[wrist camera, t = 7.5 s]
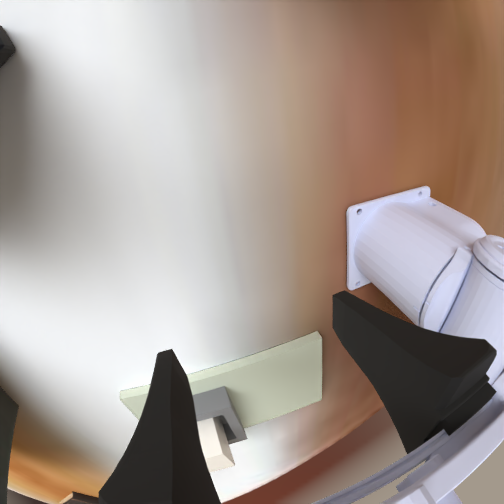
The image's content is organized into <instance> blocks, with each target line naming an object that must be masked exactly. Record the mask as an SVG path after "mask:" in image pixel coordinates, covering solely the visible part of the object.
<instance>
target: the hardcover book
mask: <svg viewBox="0 0 504 504" xmlns="http://www.w3.org/2000/svg"><path fill="white" fill-rule="evenodd" d="M59 503H60V504H99V498H97V497H93V496H89V495H84V494H81V493H77V492H73V491H72V493H71V494H70V495H69V496H67V497H66V498H64V499H63V500H61V501H60V502H59Z"/></svg>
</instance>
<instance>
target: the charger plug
mask: <svg viewBox="0 0 504 504" xmlns="http://www.w3.org/2000/svg"><path fill="white" fill-rule="evenodd" d="M197 425H198V431H199V437H200V442H201V447H202V451H203V454H204V457H205V461H206V464H207V467H208V470H209V473H210V472H213V471H217V470H221V469H225V468H228V467H232V466H235V463H234V460H233V457H232V454H231V450H230V447H229V444H228V441H227V437H226V434H225V431H224V427H223V424H222V421H221V418H220V417H219V416H217V417H213V418H209V419H206V420H202V421H198V422H197Z"/></svg>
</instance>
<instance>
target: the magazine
mask: <svg viewBox="0 0 504 504" xmlns="http://www.w3.org/2000/svg"><path fill="white" fill-rule="evenodd" d="M14 52H15V47H14V45H13V44H12V42H11V41H10V39H9V37H8V36H7V34H6V32H5V31H4V29H3V27H2V26H0V68H1V66H2V65H3V64H4V63H5V62H6V61H7V60H8V59H9V58H10V57H11V56H12V55H13V53H14Z"/></svg>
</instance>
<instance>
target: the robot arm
mask: <svg viewBox="0 0 504 504" xmlns="http://www.w3.org/2000/svg"><path fill="white" fill-rule="evenodd" d="M358 209H359V212H358V213H357V210H358ZM346 214H347V288H348V289H349V290H354V289H357V288H359V287H361V286H364V285H366V284H369V283H371V282H372V283H373V284H374V285H375V286H376V287H377V288H378V289H379V290H380V291H381V292H383V293H384V294H385V295H386V296H387V297H388V298H389V299H390V300H391V301H392V302H393V303H394V304H395V305H396V306H397V307H398V308H399V309H400V310H401V311H402V312H403V313H404V314H405V315H406V316H407V317H408V318H409V319H410V320H411V321H412V322H413V323H414V324H415V325H413V324H411V323H408V322H406V321H403V320H401V319H399V318H396V317H394V316H392V315H390V314H388V313H386V312H384V311H382V310H380V309H378V308H376V307H374V306H372V305H370V304H368V303H367V302H365V301H363V300H361V299H359V298H358V297H356V296H354V295H352V294H350V293H348V292H347V291H345V290H344V291H342V292H339V293H337V294H334V295H333V329H334V331H335V332H336V334H337V336H338V338H339V340H340V341H341V343H342V345H343V346H344V347H345V349H346V350H347V351H348V353H349V354H350V355H351V357H352V358H353V359H354V360H355V362H356V363H357V364H358V366H359V367H360V368H361V370H362V371H363V372H364V373H365V375H366V376H367V377H368V379H369V380H370V382H371V383H372V385H373V386H374V388H375V389H376V391H377V393H378V395H379V396H380V398H381V400H382V402H383V403H384V405H385V407H386V409H387V411H388V413H389V415H390V416H391V419H392V421H393V423H394V425H395V427H396V429H397V431H398V433H399V436H400V438H401V440H402V443H403V445H404V448H405V450H406V452H407V455H406V456H404V457H403V458H401V459H400V460H398V461H396V462H395V463H393V464H391V465H390V466H388V467H386V468H384V469H383V470H381V471H379V472H377V473H375V474H374V475H372V476H370V477H368V478H366V479H364V480H362V481H360V482H358V483H357V484H354V485H352V486H350V487H348V488H346V489H344V490H342V491H340V492H338V493H335V494H333V495H331V496H328V497H326V498H324V499H321V500H319V501H316V502H314V503H311V504H351V503H353V502H355V501H357V500H359V499H361V498H363V497H365V496H367V495H369V494H371V493H372V492H374V491H376V490H378V489H380V488H382V487H383V486H385V485H387V484H389V483H390V482H392V481H394V480H395V479H397V478H399V477H400V476H402V475H404V474H405V473H407V472H408V471H410V470H411V469H413V468H414V467H416V466H417V465H419V464H420V463H422V462H423V461H425V460H426V461H425V463H424V464H423V465H422V466H420V467H419V468H418V469H416V470H415V471H414V472H412V473H411V474H409V475H408V476H407V478H406V479H404V480H403V481H402V482H401V483H400V484H398V485H397V486H396V488H397V490H398V491H399V493H397V494H396V495H394V496H392V497H391V498H389V499H387V500H385V501H384V502H382V503H380V504H463V503H462V502H461V500H460V499H459V497H458V496H457V494H456V493H455V491H454V490H453V489H454V488H455V487H457V486H458V485H459V484H460V483H461V482H462V481H463V480H465V479H466V478H467V477H468V476H469V475H470V474H471V473H472V472H473V471H474V470H475V469H476V468H477V467H478V466H479V465H480V464H481V463H482V462H483V461H484V460H485V459H486V458H487V457H488V456H489V455H490V454H491V453H492V452H493V451H494V450H495V449H496V448H497V447H498V445H499V444H500V443H501V442H502V441H503V440H504V238H502V237H499V236H495V235H486V233H485V232H484V230H483V229H482V228H481V226H480V225H479V224H478V223H477V222H475V221H474V220H473V219H471V218H469V217H467V216H465V215H463V214H462V213H460V212H458V211H456V210H454V209H452V208H450V207H448V206H446V205H444V204H442V203H440V202H438V201H436V200H434V199H432V198H430V188H429V187H427V186H423V187H419V188H415V189H412V190H408V191H404V192H400V193H397V194H393V195H389V196H386V197H382V198H378V199H375V200H371V201H368V202H364V203H360V204H357V205H353V206H350V207H349V208H348V210H347V213H346ZM99 504H221V502H220V500H219V497H218V495H217V492H216V490H215V487H214V484H213V481H212V479H211V476H210V473H209V470H208V467H207V464H206V461H205V457H204V454H203V451H202V447H201V442H200V437H199V431H198V425H197V419H196V413H195V406H194V400H193V395H192V391H191V388H190V384H189V380H188V377H187V375H186V373H185V372H184V370H183V368H182V366H181V365H180V363H179V361H178V359H177V357H176V355H175V354H174V352H173V350H172V349H170V350H166V351H163V352H159V353H158V354H157V358H156V363H155V368H154V372H153V377H152V381H151V384H150V388H149V392H148V396H147V399H146V402H145V405H144V408H143V411H142V414H141V417H140V420H139V422H138V425H137V427H136V430H135V432H134V435H133V437H132V439H131V441H130V443H129V445H128V447H127V449H126V451H125V453H124V455H123V457H122V458H121V460H120V462H119V463H118V465H117V467H116V468H115V470H114V472H113V473H112V475H111V476H110V477H109V479H108V480H107V482H106V483H105V484H104V486H103V487H102V488H101V490H100V491H99Z"/></svg>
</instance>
